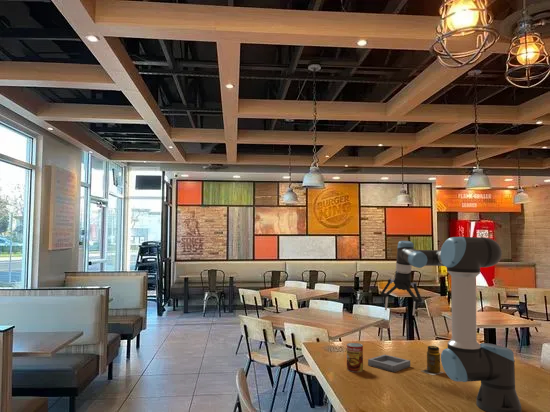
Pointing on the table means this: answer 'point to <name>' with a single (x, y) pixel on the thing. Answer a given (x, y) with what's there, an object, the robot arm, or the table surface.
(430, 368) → the condiment
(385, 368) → the holder
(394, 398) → the table surface
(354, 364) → the canned food
